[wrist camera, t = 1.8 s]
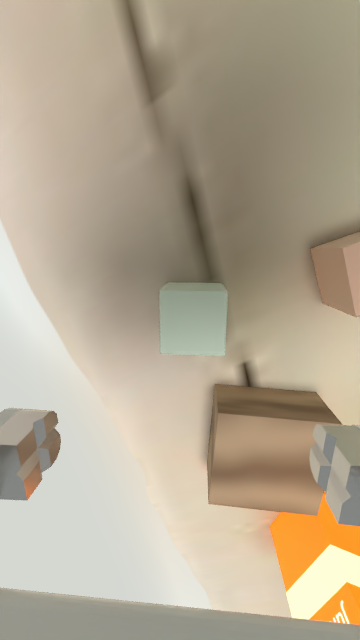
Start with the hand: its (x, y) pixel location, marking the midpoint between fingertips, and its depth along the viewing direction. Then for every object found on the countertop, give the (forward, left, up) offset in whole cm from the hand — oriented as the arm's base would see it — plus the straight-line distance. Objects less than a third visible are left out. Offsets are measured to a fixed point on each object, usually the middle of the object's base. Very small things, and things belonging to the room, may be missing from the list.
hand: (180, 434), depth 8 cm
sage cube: (0, 0, -16) cm, 16 cm away
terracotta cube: (-4, +13, -16) cm, 21 cm away
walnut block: (+13, +7, -16) cm, 22 cm away
